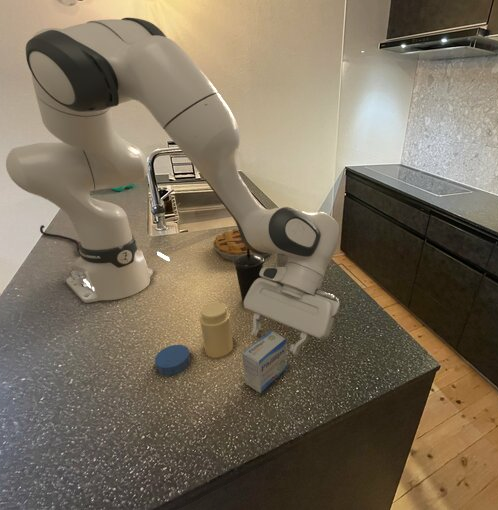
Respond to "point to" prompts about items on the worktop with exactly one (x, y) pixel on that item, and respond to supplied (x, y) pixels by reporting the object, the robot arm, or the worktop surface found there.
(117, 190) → the teal lumpy blob
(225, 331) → the jar
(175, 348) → the lid
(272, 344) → the medicine box
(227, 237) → the pie
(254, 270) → the drinking cup
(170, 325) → the worktop surface
